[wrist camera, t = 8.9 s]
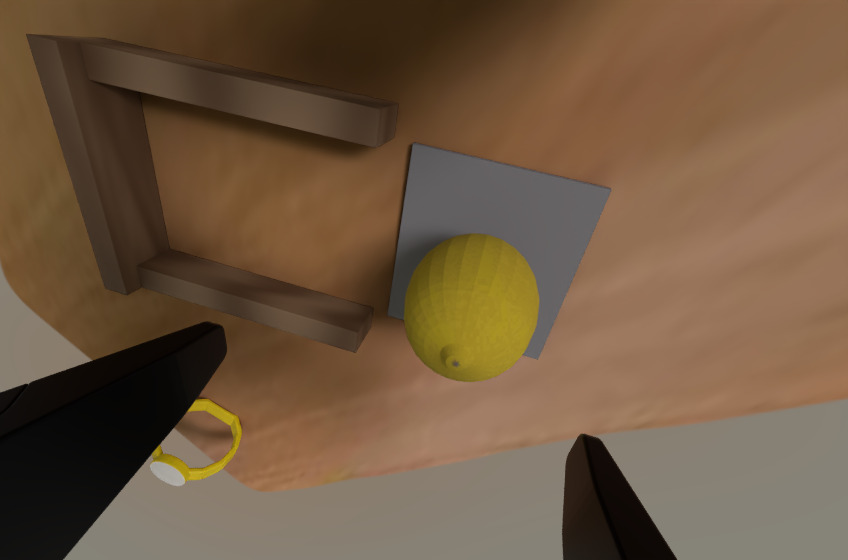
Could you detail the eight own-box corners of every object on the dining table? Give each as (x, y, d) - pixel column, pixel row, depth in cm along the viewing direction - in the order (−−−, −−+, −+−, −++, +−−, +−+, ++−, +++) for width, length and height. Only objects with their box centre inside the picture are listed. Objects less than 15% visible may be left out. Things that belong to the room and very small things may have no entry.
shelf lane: (398, 103, 18) (371, 112, 15) (371, 327, 24) (348, 364, 21) (103, 38, 19) (26, 34, 16) (153, 262, 26) (105, 288, 23)
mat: (610, 188, 17) (611, 190, 17) (537, 355, 22) (537, 359, 22) (414, 142, 18) (412, 143, 18) (388, 312, 23) (387, 315, 23)
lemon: (549, 296, 20) (557, 417, 13) (449, 314, 22) (411, 427, 15) (522, 194, 18) (514, 277, 11) (414, 225, 20) (352, 311, 13)
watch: (257, 417, 33) (211, 486, 28) (248, 433, 34) (204, 501, 29) (190, 383, 32) (131, 447, 27) (184, 401, 33) (127, 465, 28)
